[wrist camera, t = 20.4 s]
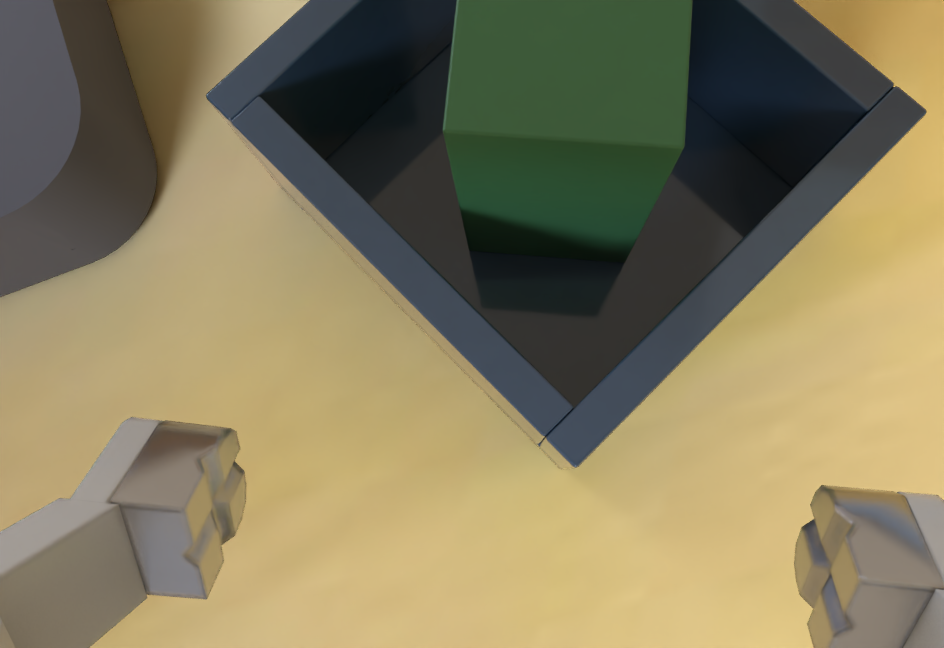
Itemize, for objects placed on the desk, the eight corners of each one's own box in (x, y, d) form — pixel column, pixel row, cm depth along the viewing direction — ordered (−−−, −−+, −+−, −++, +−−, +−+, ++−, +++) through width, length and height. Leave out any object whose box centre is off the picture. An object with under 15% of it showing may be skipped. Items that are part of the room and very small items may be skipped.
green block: (468, 251, 25) (441, 131, 16) (483, 104, 26) (464, -84, 17) (625, 263, 25) (684, 148, 16) (635, 115, 26) (697, -72, 17)
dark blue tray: (277, 183, 27) (203, 94, 21) (534, -56, 28) (540, -211, 22) (560, 470, 25) (575, 469, 19) (828, 199, 26) (929, 110, 20)
